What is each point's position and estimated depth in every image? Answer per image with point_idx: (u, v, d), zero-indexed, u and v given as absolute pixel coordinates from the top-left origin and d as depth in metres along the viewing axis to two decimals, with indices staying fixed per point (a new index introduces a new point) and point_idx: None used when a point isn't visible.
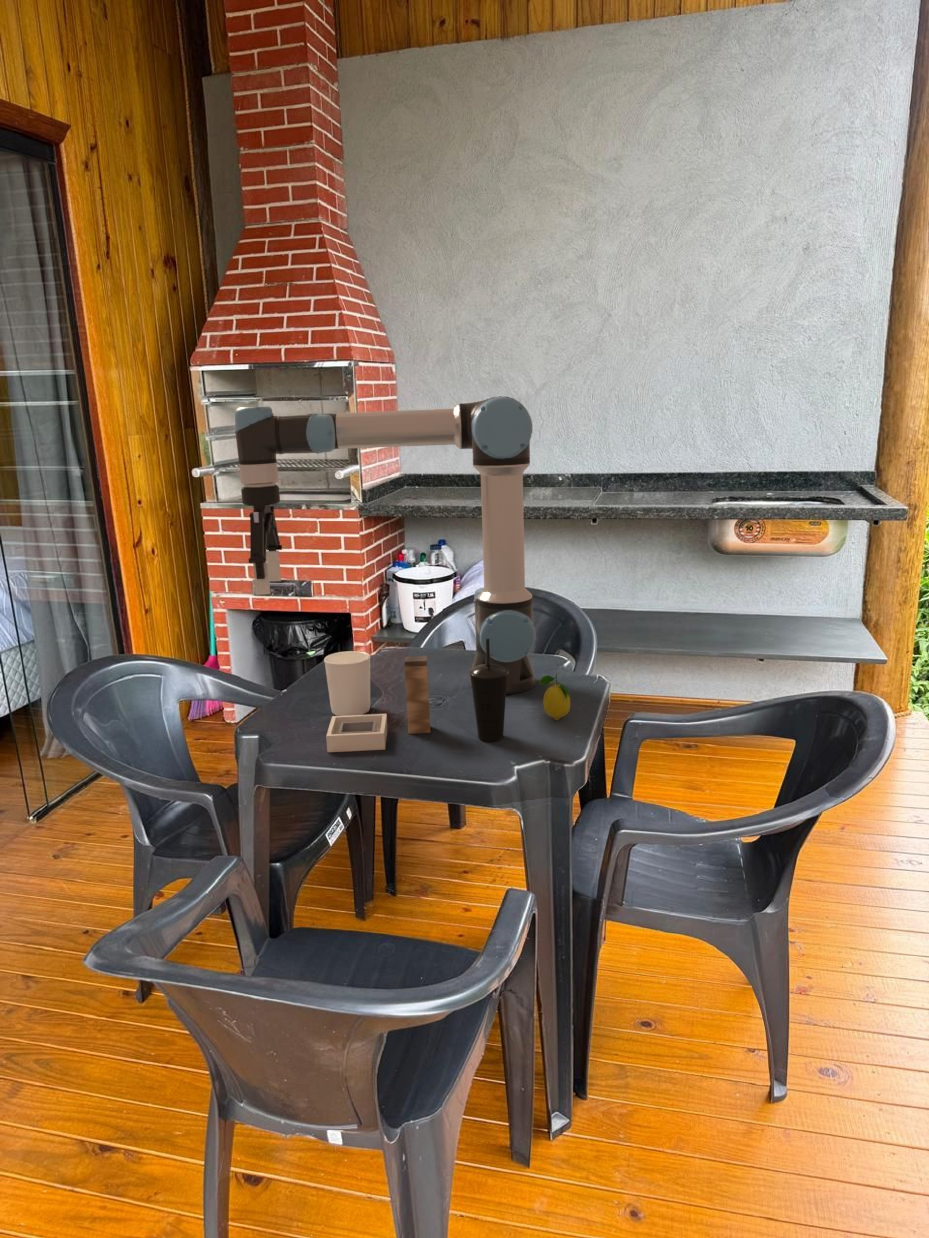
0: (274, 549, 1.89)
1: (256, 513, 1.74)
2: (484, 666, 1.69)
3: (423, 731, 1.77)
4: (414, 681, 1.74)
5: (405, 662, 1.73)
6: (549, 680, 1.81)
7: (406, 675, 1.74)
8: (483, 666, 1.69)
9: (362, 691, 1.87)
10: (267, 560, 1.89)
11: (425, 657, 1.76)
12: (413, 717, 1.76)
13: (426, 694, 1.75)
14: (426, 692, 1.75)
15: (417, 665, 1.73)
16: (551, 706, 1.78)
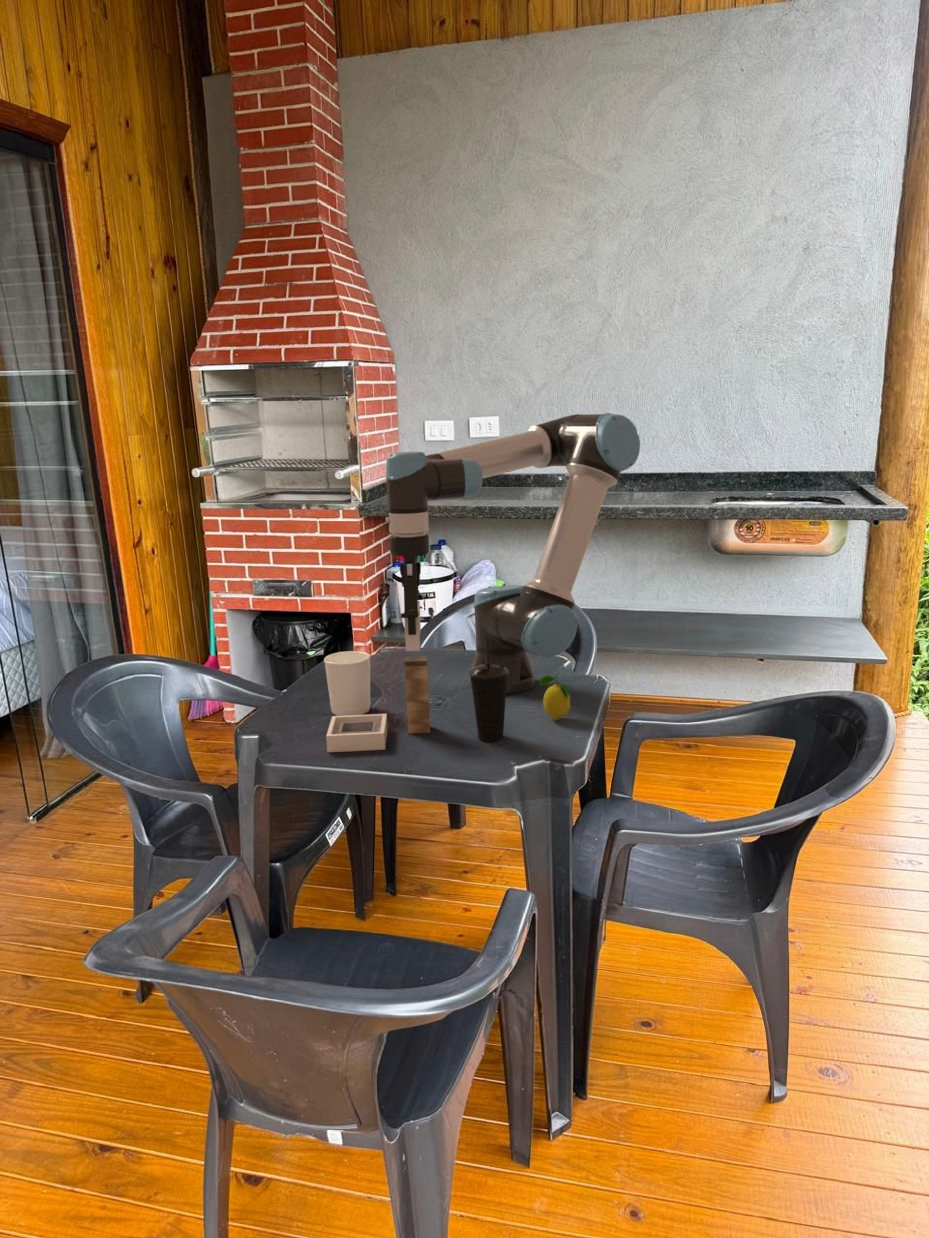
0: None
1: (410, 565, 1.64)
2: (484, 666, 1.69)
3: (423, 731, 1.77)
4: (414, 681, 1.74)
5: (405, 662, 1.73)
6: (549, 680, 1.81)
7: (406, 675, 1.74)
8: (483, 666, 1.69)
9: (362, 691, 1.87)
10: None
11: (425, 657, 1.76)
12: (413, 717, 1.76)
13: (426, 694, 1.75)
14: (426, 692, 1.75)
15: (417, 665, 1.73)
16: (551, 706, 1.78)
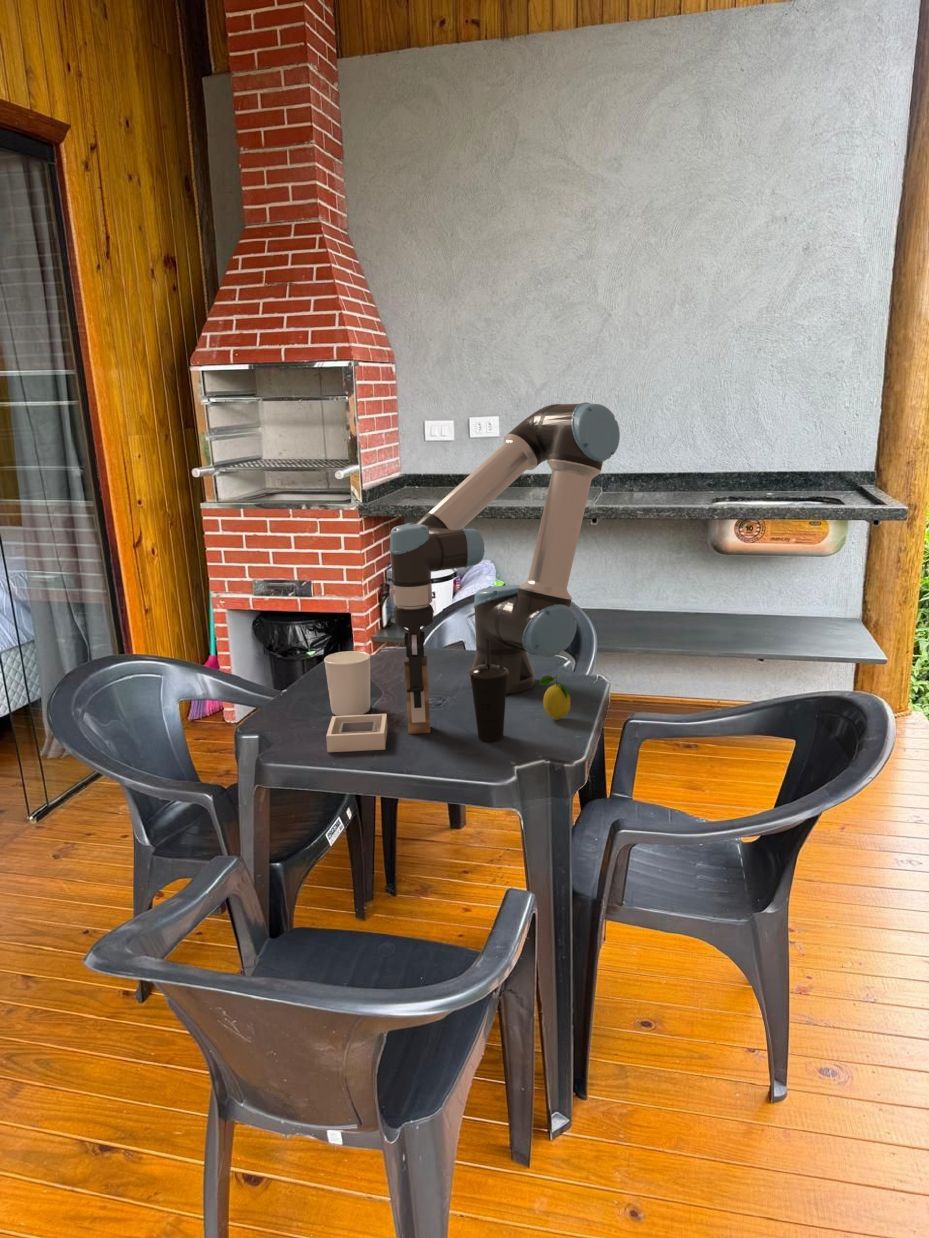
0: None
1: (414, 647, 1.68)
2: (484, 666, 1.69)
3: (423, 731, 1.77)
4: None
5: (405, 662, 1.73)
6: (549, 680, 1.81)
7: (406, 675, 1.74)
8: (483, 666, 1.69)
9: (362, 691, 1.87)
10: None
11: (425, 657, 1.76)
12: None
13: (426, 694, 1.75)
14: (426, 692, 1.75)
15: None
16: (551, 706, 1.78)
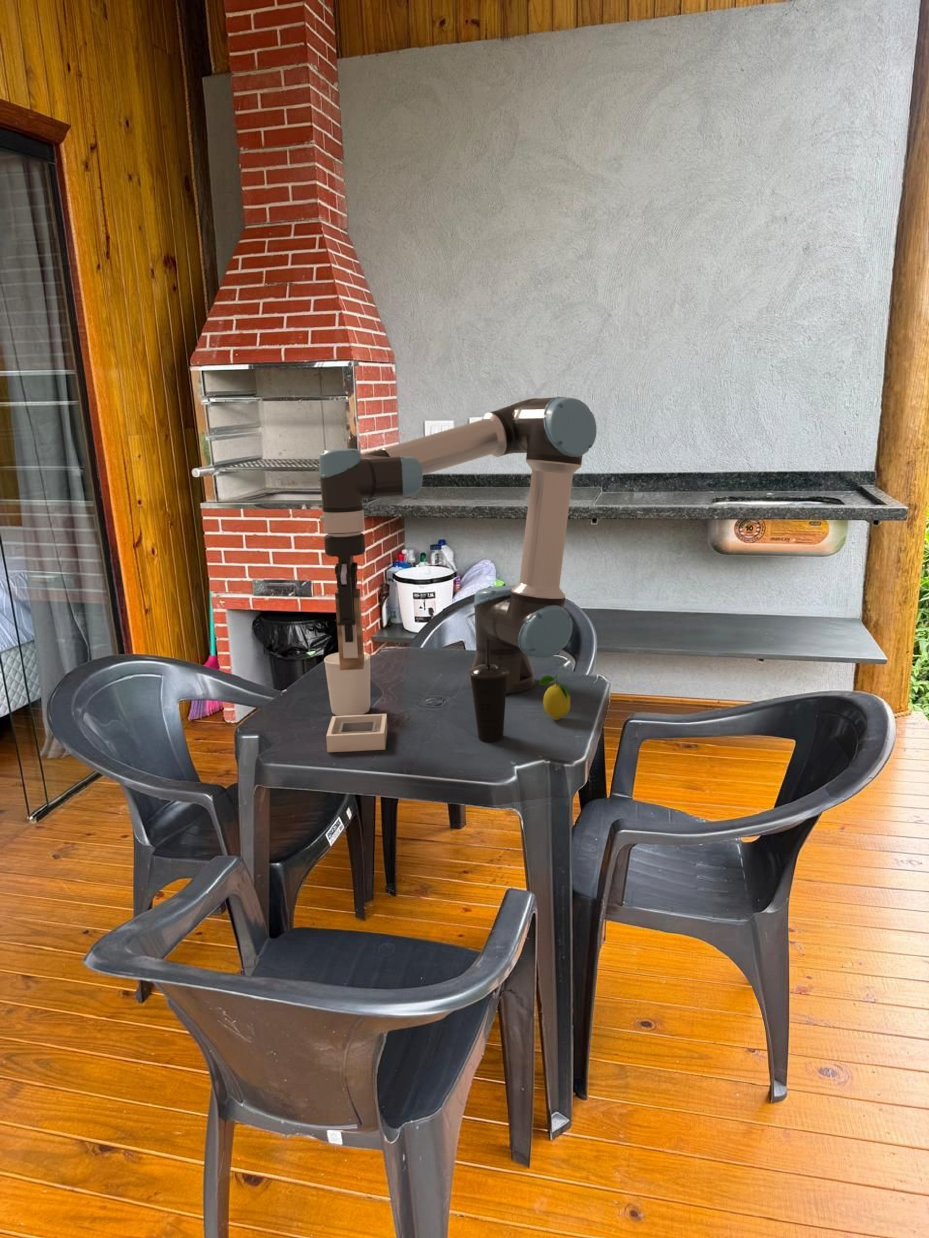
0: None
1: (343, 576, 1.60)
2: (484, 666, 1.69)
3: (355, 667, 1.69)
4: None
5: (336, 594, 1.65)
6: (549, 680, 1.81)
7: (337, 607, 1.66)
8: (483, 666, 1.69)
9: (362, 691, 1.87)
10: None
11: (358, 590, 1.68)
12: None
13: (358, 628, 1.67)
14: (358, 626, 1.67)
15: None
16: (551, 706, 1.78)
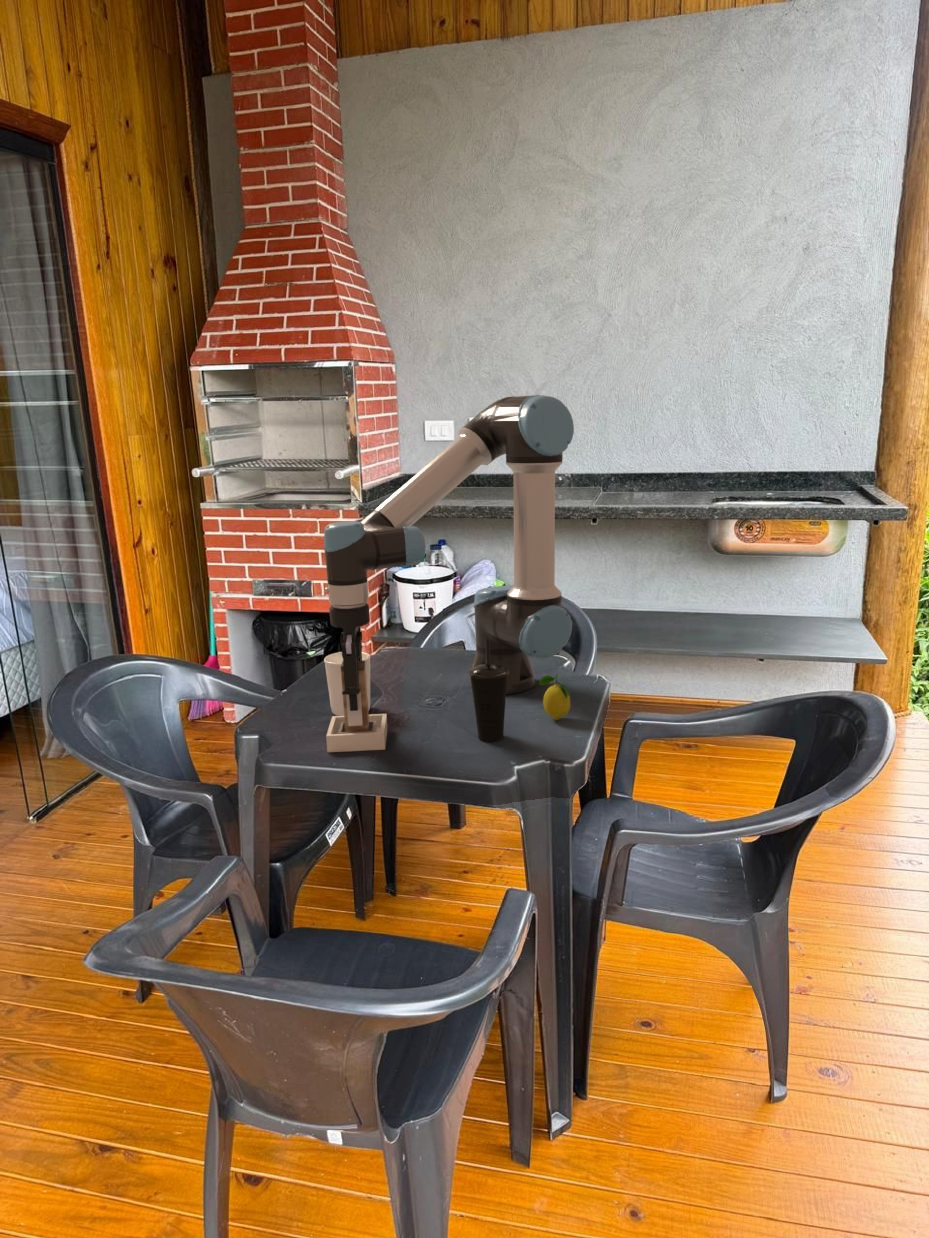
0: None
1: (348, 645, 1.63)
2: (484, 666, 1.69)
3: None
4: None
5: (341, 667, 1.69)
6: (549, 680, 1.81)
7: (343, 680, 1.69)
8: (483, 666, 1.69)
9: None
10: None
11: (363, 662, 1.71)
12: None
13: (364, 700, 1.70)
14: (364, 697, 1.70)
15: None
16: (551, 706, 1.78)
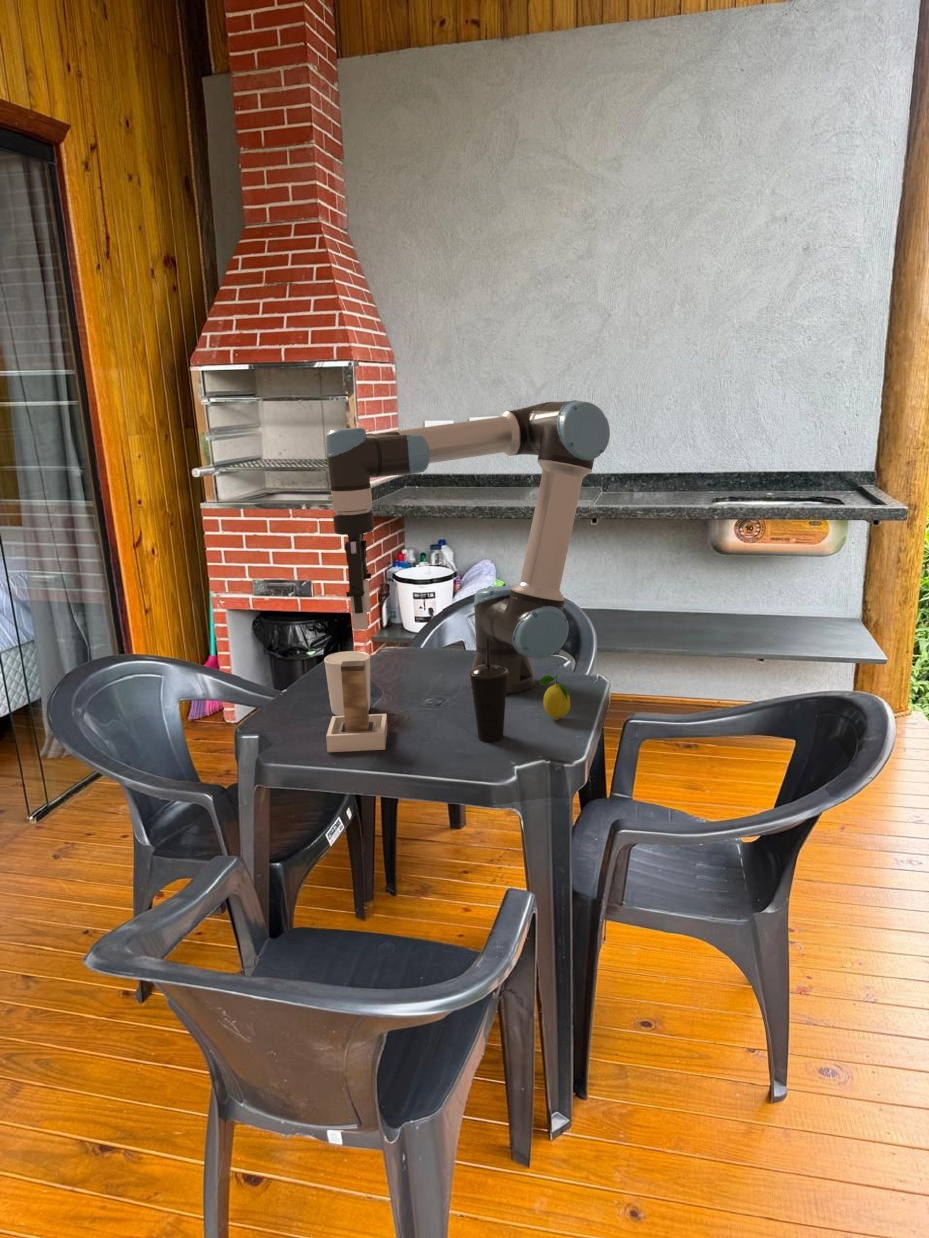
0: (363, 578, 1.78)
1: (353, 543, 1.62)
2: (484, 666, 1.69)
3: None
4: (350, 686, 1.70)
5: (341, 667, 1.69)
6: (549, 680, 1.81)
7: (343, 680, 1.69)
8: (483, 666, 1.69)
9: None
10: None
11: (363, 662, 1.71)
12: (350, 723, 1.72)
13: (364, 700, 1.70)
14: (364, 697, 1.70)
15: (354, 670, 1.69)
16: (551, 706, 1.78)
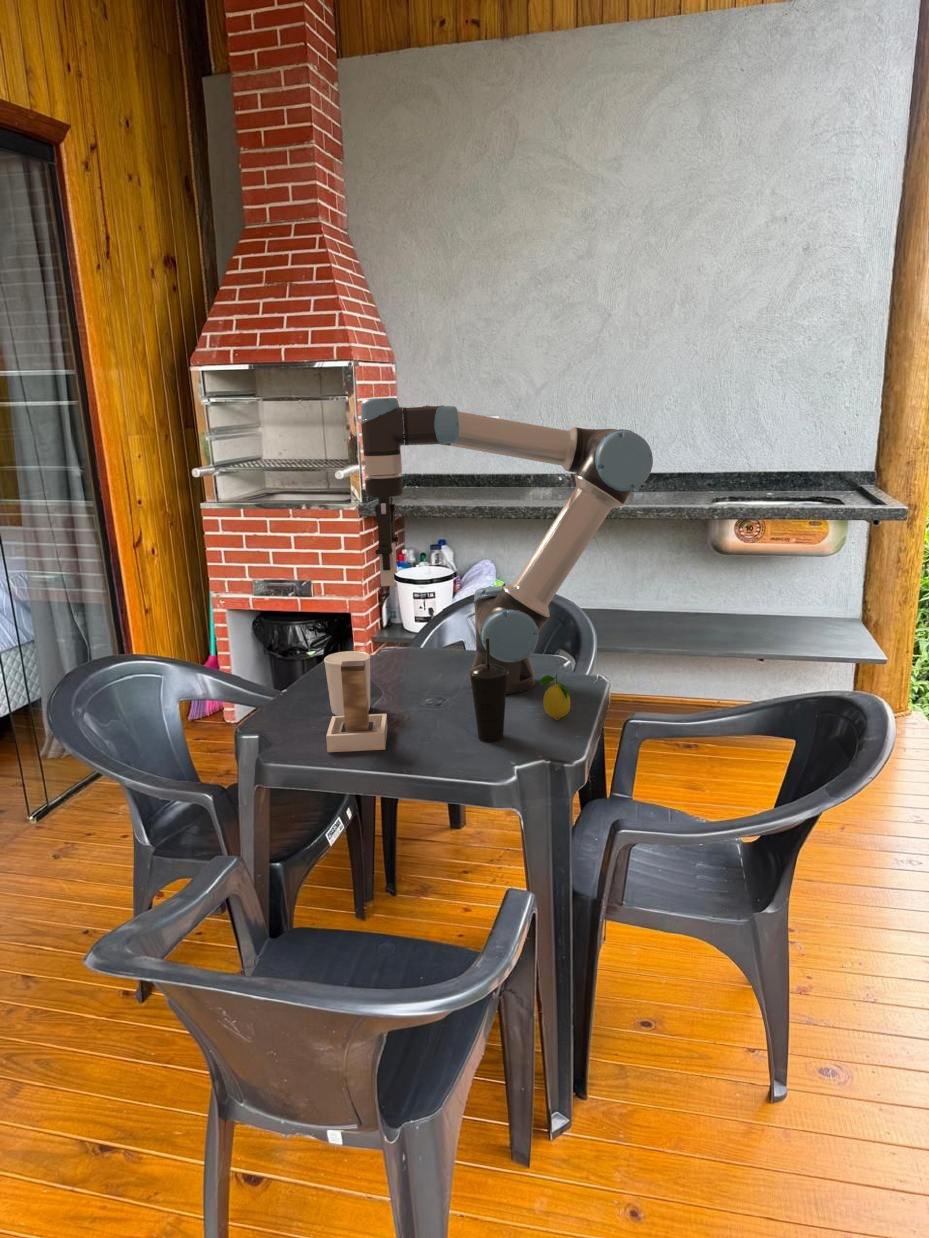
0: (391, 541, 1.89)
1: (383, 504, 1.74)
2: (484, 666, 1.69)
3: None
4: (350, 686, 1.70)
5: (341, 667, 1.69)
6: (550, 680, 1.81)
7: (343, 680, 1.69)
8: (483, 666, 1.69)
9: None
10: None
11: (363, 662, 1.71)
12: (350, 723, 1.72)
13: (364, 700, 1.70)
14: (364, 697, 1.70)
15: (354, 670, 1.69)
16: (551, 706, 1.78)
